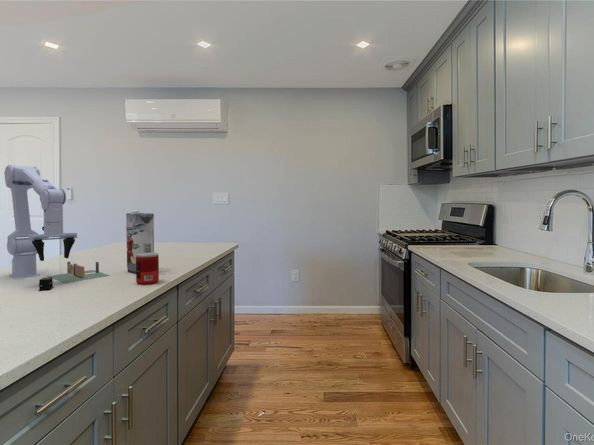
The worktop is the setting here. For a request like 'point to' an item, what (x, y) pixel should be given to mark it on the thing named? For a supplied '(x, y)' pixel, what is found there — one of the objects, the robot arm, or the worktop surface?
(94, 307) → the worktop surface
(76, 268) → the gate panel
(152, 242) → the juice carton
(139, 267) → the canned food
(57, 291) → the worktop surface
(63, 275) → the card
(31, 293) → the worktop surface
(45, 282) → the black small block
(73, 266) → the tan and grey block
